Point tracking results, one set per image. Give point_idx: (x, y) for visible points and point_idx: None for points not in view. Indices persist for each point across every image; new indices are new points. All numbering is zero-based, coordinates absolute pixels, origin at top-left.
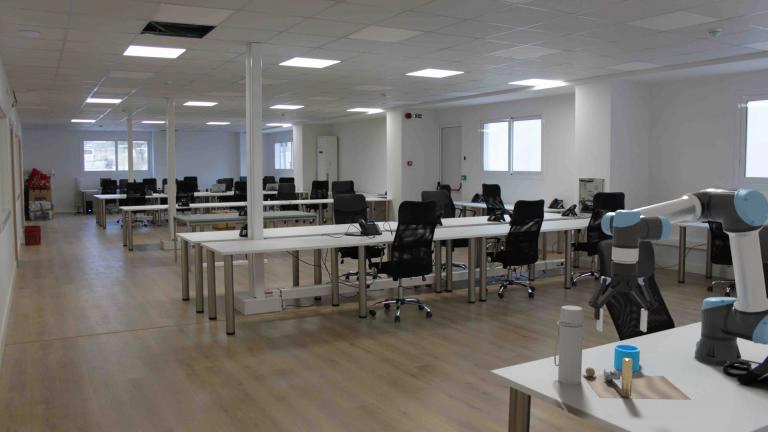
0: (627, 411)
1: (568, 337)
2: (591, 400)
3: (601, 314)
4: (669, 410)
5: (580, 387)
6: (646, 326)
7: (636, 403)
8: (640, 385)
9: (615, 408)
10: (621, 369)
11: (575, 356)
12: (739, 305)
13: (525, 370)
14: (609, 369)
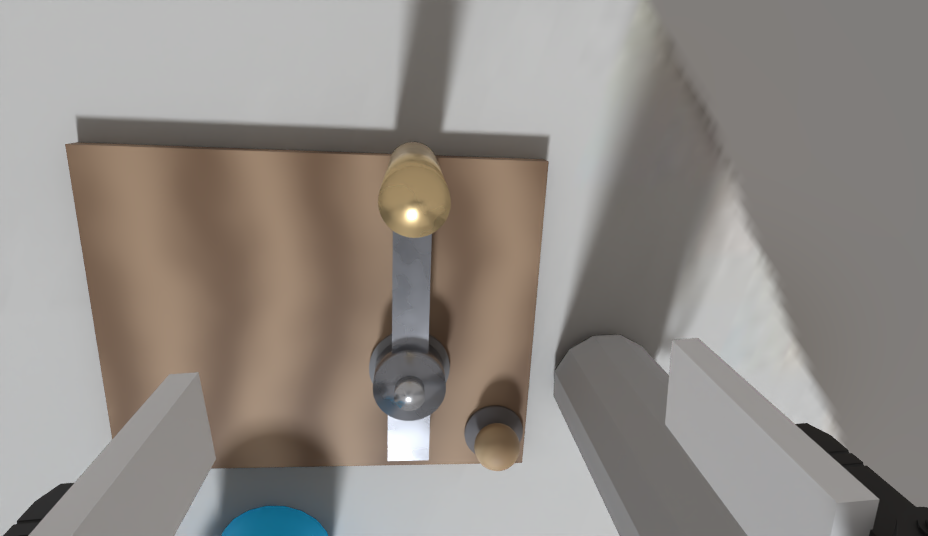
0: (453, 24)
1: None
2: (576, 171)
3: (811, 454)
4: (227, 40)
5: (565, 336)
6: (143, 406)
7: (369, 137)
8: (281, 335)
9: (499, 66)
10: (307, 531)
11: (656, 410)
12: None
13: None
14: (401, 456)
